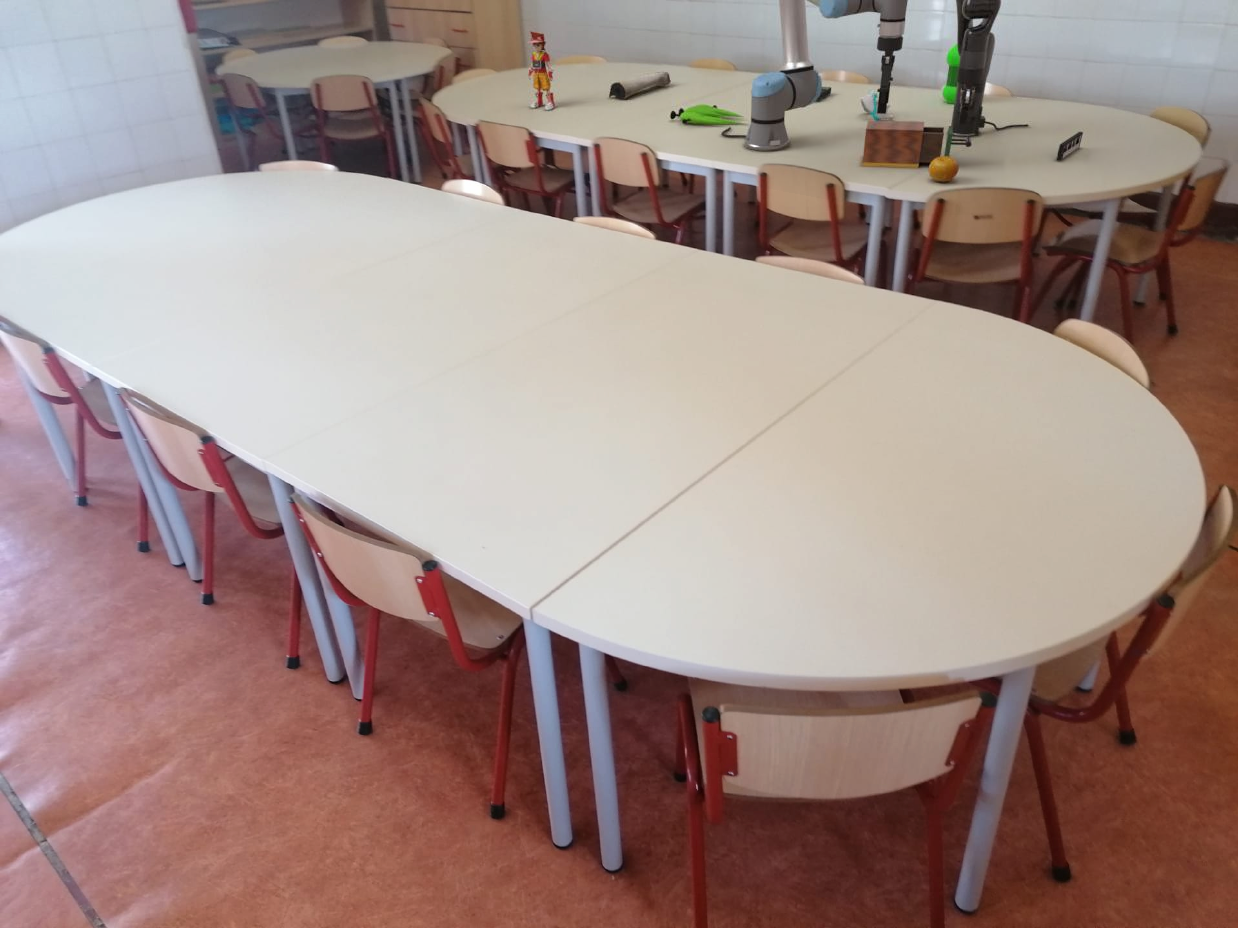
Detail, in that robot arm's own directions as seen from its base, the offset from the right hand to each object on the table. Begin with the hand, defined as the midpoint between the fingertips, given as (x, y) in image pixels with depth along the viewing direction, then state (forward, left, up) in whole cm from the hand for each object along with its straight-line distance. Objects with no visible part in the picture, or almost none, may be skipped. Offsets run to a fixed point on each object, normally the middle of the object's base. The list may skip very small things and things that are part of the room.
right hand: (962, 124), depth 283 cm
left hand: (+25, -2, +4) cm, 25 cm away
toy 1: (+161, -77, -13) cm, 179 cm away
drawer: (+8, -1, -12) cm, 14 cm away
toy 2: (+86, -54, -13) cm, 102 cm away
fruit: (+6, +17, -13) cm, 22 cm away
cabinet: (+20, -2, -13) cm, 24 cm away
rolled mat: (+123, -104, -13) cm, 161 cm away
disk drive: (+48, -92, -13) cm, 104 cm away
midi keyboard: (-36, -12, -13) cm, 40 cm away
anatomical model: (+24, -60, -13) cm, 66 cm away
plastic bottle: (-7, -82, -13) cm, 83 cm away
